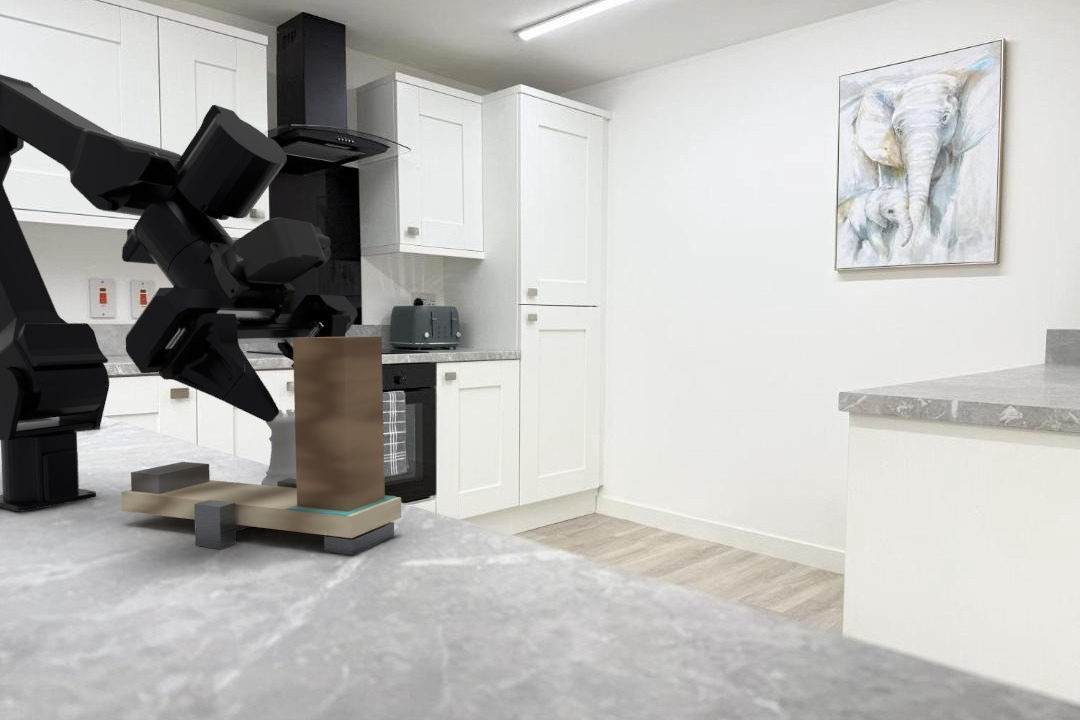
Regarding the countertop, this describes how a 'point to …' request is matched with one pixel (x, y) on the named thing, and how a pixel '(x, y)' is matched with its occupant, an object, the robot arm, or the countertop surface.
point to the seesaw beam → (247, 502)
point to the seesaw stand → (220, 530)
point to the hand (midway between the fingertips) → (318, 410)
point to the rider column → (338, 422)
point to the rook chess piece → (282, 449)
